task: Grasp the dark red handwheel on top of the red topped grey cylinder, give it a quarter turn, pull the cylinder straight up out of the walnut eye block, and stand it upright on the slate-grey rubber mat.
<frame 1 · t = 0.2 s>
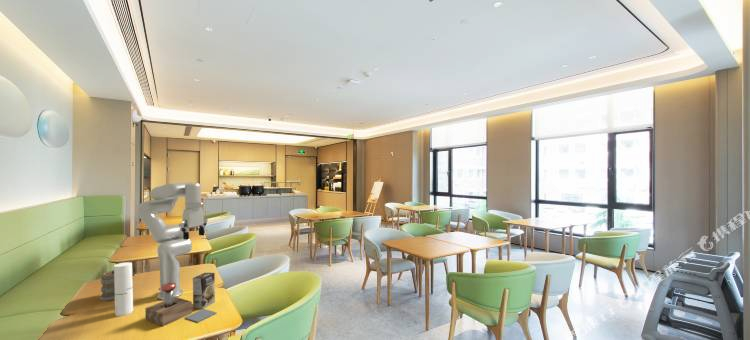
hand: (194, 237, 166), 36 cm above the table, tool pointing down, fingers open, 9 cm apart
red topped grey cylinder: (168, 300, 153), in the eye block
eye block: (169, 316, 153), on the table
mat: (200, 315, 153), on the table
tankard: (119, 296, 178), on the table
cylindrical container: (124, 313, 158), on the table
coffee box: (204, 305, 165), on the table
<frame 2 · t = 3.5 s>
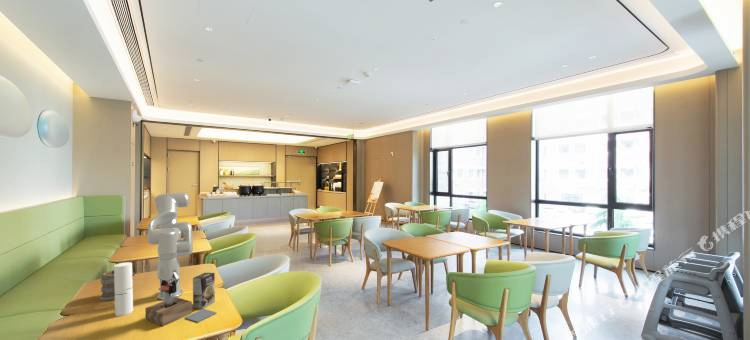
hand: (168, 291, 152), 13 cm above the table, tool pointing down, fingers closed on red topped grey cylinder, 6 cm apart
red topped grey cylinder: (168, 300, 153), in the eye block, touching gripper
everything else where it was.
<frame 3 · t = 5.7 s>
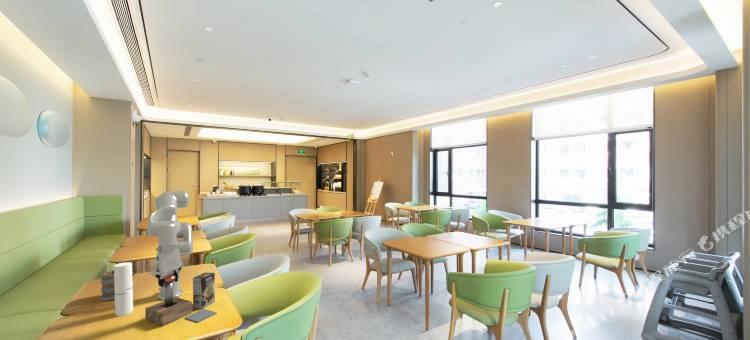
hand: (168, 283, 153), 17 cm above the table, tool pointing down, fingers closed on red topped grey cylinder, 6 cm apart
red topped grey cylinder: (168, 292, 153), point 12 cm above the table, touching gripper
everything else where it was.
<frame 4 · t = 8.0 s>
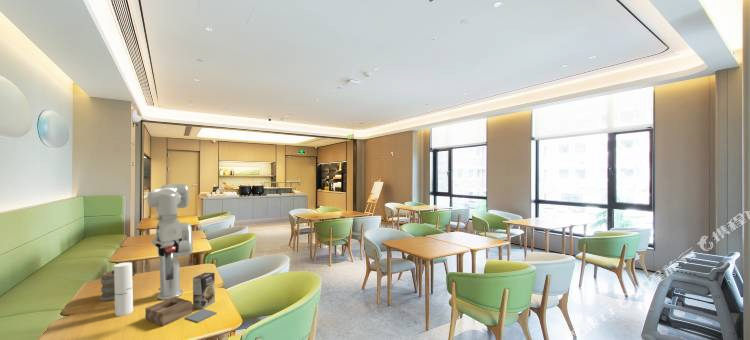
hand: (169, 253, 152), 32 cm above the table, tool pointing down, fingers closed on red topped grey cylinder, 6 cm apart
red topped grey cylinder: (169, 262, 152), point 27 cm above the table, touching gripper
everything else where it was.
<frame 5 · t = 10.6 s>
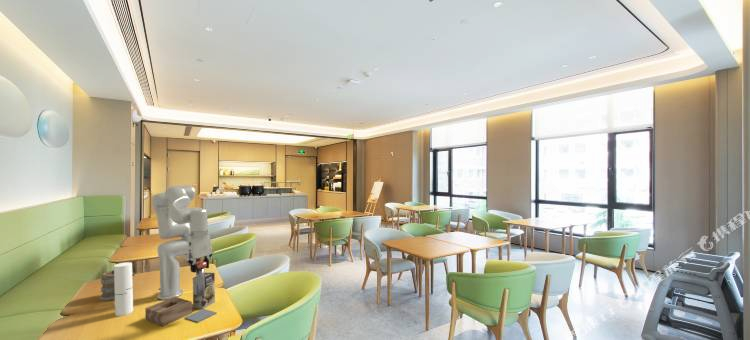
hand: (200, 269, 153), 23 cm above the table, tool pointing down, fingers closed on red topped grey cylinder, 6 cm apart
red topped grey cylinder: (200, 278, 153), point 19 cm above the table, touching gripper
everything else where it was.
when the fingers open (14 cm above the table, at t = 12.7 s): red topped grey cylinder drops 1 cm, resting on mat.
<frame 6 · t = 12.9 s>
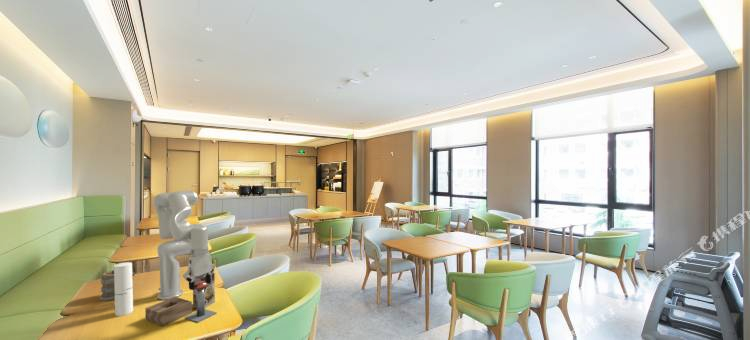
hand: (200, 286, 153), 15 cm above the table, tool pointing down, fingers open, 8 cm apart
red topped grey cylinder: (200, 298, 153), on the mat
everything else where it was.
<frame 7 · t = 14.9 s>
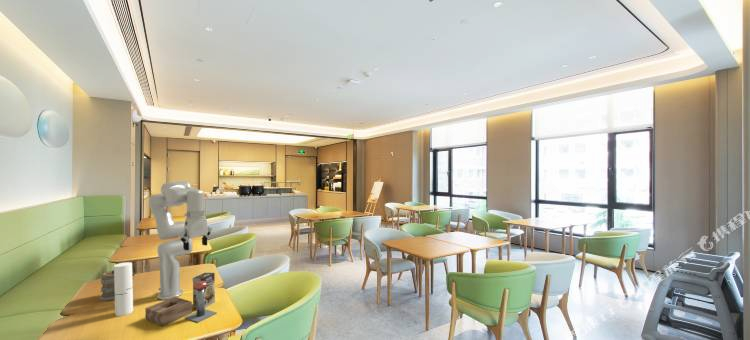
hand: (195, 247, 156), 33 cm above the table, tool pointing down, fingers open, 9 cm apart
nothing on the table moved.
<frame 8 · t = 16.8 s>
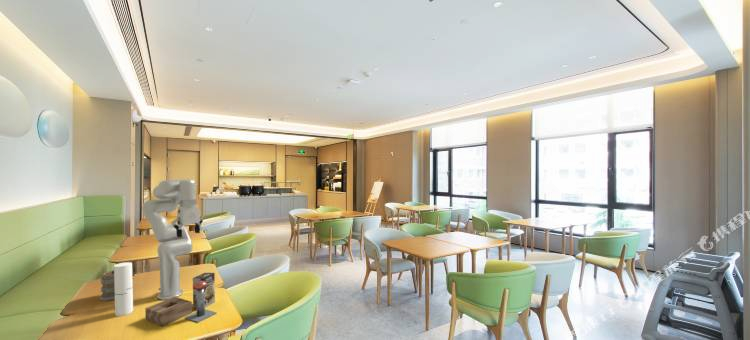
hand: (188, 234, 164), 38 cm above the table, tool pointing down, fingers open, 9 cm apart
nothing on the table moved.
at the end: red topped grey cylinder inside the target area on the mat (0.1 cm from its centre), point 8.5 cm above the mat's base; red topped grey cylinder tilted 1°; the gripper is holding nothing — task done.
